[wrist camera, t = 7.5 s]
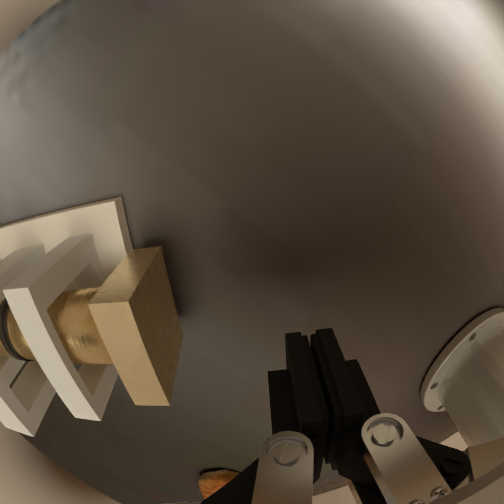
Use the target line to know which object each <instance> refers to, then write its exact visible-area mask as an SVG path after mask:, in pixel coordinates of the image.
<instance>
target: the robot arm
mask: <svg viewBox="0 0 504 504" xmlns="http://www.w3.org/2000/svg"><path fill="white" fill-rule="evenodd" d="M285 344H286V366H287V369H286V370H277V371H268V383H269V395H270V408H271V420H272V433H273V435H272V436H270V437H269V438H267V439H266V440H265V442H264V443H263V444H262V447H261V450H260V456H259V458H258V459H257V460H255V461H254V462H253V463H252V464H251V465H249V466H248V467H247V468H246V469H245V470H243V471H242V472H241V473H240V474H238V475H237V476H236V477H235V478H233V479H232V480H231V481H229V482H228V483H227V484H225V485H224V486H223V487H221V488H220V489H219V490H217V491H216V492H215V493H213V494H212V495H210V496H209V497H208V498H206V499H205V500H203V501H202V502H199V503H191V504H312V495H313V484H314V483H315V482H316V481H317V480H318V479H319V477H320V472H321V467H322V462H323V457H324V459H325V463H326V464H329V463H331V466H332V470H337V469H338V474H339V475H341V476H343V477H345V478H346V480H347V483H348V486H349V488H350V490H351V492H352V494H353V497H354V499H355V501H356V503H357V504H504V308H494V309H492V310H489V311H487V312H485V313H483V314H482V315H480V316H478V317H477V318H475V319H474V320H473V321H472V322H470V323H469V324H468V325H467V326H466V327H465V328H463V329H462V330H461V331H460V332H459V333H458V334H457V335H456V336H455V337H454V338H453V339H452V340H451V341H450V342H449V344H448V345H447V346H446V347H445V348H444V350H443V351H442V352H441V353H440V355H439V356H438V357H437V359H436V360H435V362H434V363H433V364H432V366H431V368H430V370H429V371H428V373H427V375H426V377H425V379H424V381H423V384H422V388H421V391H420V398H421V401H422V403H423V404H424V406H425V407H426V409H427V410H429V411H431V412H440V411H445V410H446V411H447V413H448V414H449V416H450V418H451V419H452V421H453V422H454V424H455V426H456V427H457V429H458V431H459V432H460V434H461V436H462V437H463V439H464V441H465V442H466V444H467V446H468V448H467V449H466V450H465V451H460V450H458V449H455V448H451V447H448V446H445V445H442V444H438V443H435V442H432V441H429V440H426V439H423V438H420V437H417V436H415V435H414V434H413V432H412V431H411V429H410V428H409V426H408V425H407V423H406V422H405V421H404V420H403V419H402V418H400V417H399V416H397V415H394V414H390V413H382V414H381V413H380V411H379V409H378V406H377V404H376V401H375V399H374V397H373V394H372V392H371V390H370V388H369V385H368V383H367V381H366V378H365V376H364V374H363V372H362V369H361V367H360V365H359V363H358V361H357V360H356V359H354V360H348V361H345V359H344V356H343V354H342V351H341V349H340V347H339V344H338V342H337V339H336V337H335V335H334V332H333V330H332V328H327V329H319V330H316V334H312V335H311V340H310V345H309V341H308V338H307V335H304V336H302V335H301V332H296V333H287V334H285ZM170 504H189V503H188V502H182V503H170Z"/></svg>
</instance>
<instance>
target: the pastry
mask: <svg viewBox="0 0 504 504" xmlns="http://www.w3.org/2000/svg"><path fill="white" fill-rule="evenodd" d="M238 474H240V473H239V472H236V471H235V472H233V471H229V470H226V469H224V470H219V471H215V472H207V473H203V474H202V475H201V477H200V478H199V479H198V483H199V490H200V491H201V492H202V495H203V497H204V498H205V499H206V498H208V497H209V496H210V495H212V494H213V493H215V492H216V491H217V490H219V489H220V488H221V487H223V486H224V485H225V484H227V483H228V482H229V481H231V480H232V479H233V478H235V477H236V476H237V475H238Z"/></svg>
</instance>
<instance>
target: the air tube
mask: <svg viewBox="0 0 504 504" xmlns="http://www.w3.org/2000/svg"><path fill="white" fill-rule="evenodd" d="M47 313H48V315H49V317H50V319H51V322H52V324H53V326H54V328H55V330H56V332H57V334H58V336H59V338H60V340H61V342H62V344H63V346H64V348H65V350H66V352H67V354H68V356H69V358H70V360H71V361H72V363H76V364H98V365H114V366H115V368H116V370H117V372H118V374H119V376H120V377H121V379H122V381H123V383H124V385H125V387H126V389H127V391H128V392H129V394H130V396H131V398H132V400H133V401H134V403H135V405H155V406H170V402H171V397H172V391H173V386H174V380H175V375H176V369H177V364H178V359H179V354H180V349H181V344H182V339H183V332H182V329H181V325H180V322H179V318H178V314H177V310H176V307H175V303H174V299H173V295H172V291H171V287H170V283H169V279H168V275H167V271H166V266H165V262H164V257H163V253H162V248H161V246H157V247H149V248H141V249H134V250H130V251H129V252H128V253H127V255H126V256H125V257H124V258H123V259H122V261H121V262H120V263H119V264H118V266H117V267H116V268H115V269H114V271H113V272H112V273H111V274H110V276H109V277H108V278H107V280H106V281H105V282H104V283H103V285H102V286H101V287H95V288H84V289H73V290H64V291H63V292H62V293H61V294H60V295H59V296H58V297H57V298H56V299H55V301H54V302H53V303H52V304H51V305H50V306H49V307H48V309H47ZM0 356H6V357H13V358H15V359H17V360H22V361H34V360H36V358H35V356H34V354H33V353H32V351H31V349H30V347H29V345H28V344H27V342H26V340H25V338H24V336H23V334H22V332H21V330H20V328H19V326H18V324H17V322H16V320H15V318H14V315H13V313H12V311H11V309H10V307H9V304H8V302H7V300H6V297H5V298H4V299H3V300H2V301H1V302H0Z"/></svg>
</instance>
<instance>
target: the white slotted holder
mask: <svg viewBox="0 0 504 504" xmlns="http://www.w3.org/2000/svg"><path fill="white" fill-rule="evenodd" d="M130 250H133V247H132V243H131V239H130V235H129V230H128V226H127V221H126V216H125V211H124V207H123V201H122V197H118V198H113V199H108V200H103V201H99V202H94V203H89V204H85V205H80V206H76V207H71V208H67V209H63V210H59V211H55V212H51V213H47V214H43V215H39V216H35V217H32V218H28V219H24V220H21V221H17V222H14V223H10V224H7V225H3V226H0V302H1V301H2V300H3V299H4V298H5V297H6V300H7V302H8V304H9V307H10V309H11V311H12V313H13V315H14V318H15V320H16V322H17V324H18V326H19V328H20V330H21V332H22V334H23V336H24V338H25V340H26V342H27V344H28V345H29V347H30V349H31V351H32V353H33V354H34V356H35V358H36V360H34V361H29V362H28V364H27V365H26V367H25V368H24V370H23V371H22V373H21V374H20V376H19V377H18V379H17V381H16V382H15V384H14V385H13V387H12V388H11V389H10V388H9V385H10V384H11V382H12V380H13V379H14V377H15V376H16V374H17V373H18V371H19V370H20V368H21V367H22V365H23V364H24V363H25V361H22V360H17V359H15V358H13V357H6V356H0V421H1V422H2V423H3V424H4V425H5V427H7V428H9V429H12V430H15V431H17V432H20V433H23V434H26V435H29V436H32V437H34V436H35V434H36V431H37V429H38V427H39V425H40V423H41V421H42V419H43V416H44V414H45V412H46V410H47V408H48V406H49V404H50V402H51V400H52V398H53V396H54V394H55V392H57V393H58V395H59V396H60V397H61V399H62V400H63V402H64V403H65V405H66V406H67V407H68V409H69V410H70V411H71V413H72V414H73V415H74V417H75V418H82V419H89V420H96V421H101V420H102V417H103V414H104V411H105V408H106V405H107V403H108V400H109V397H110V394H111V392H112V389H113V386H114V384H115V381H116V378H117V376H118V372H117V370H116V368H115V366H114V365H98V364H82V366H81V368H80V370H79V372H77V370H76V369H75V367H74V365H73V363H72V361H71V360H70V358H69V356H68V354H67V352H66V350H65V348H64V346H63V344H62V342H61V340H60V338H59V336H58V334H57V332H56V330H55V328H54V326H53V324H52V322H51V319H50V317H49V315H48V313H47V309H48V307H49V306H50V305H51V304H52V303H53V302H54V301H55V299H56V298H57V297H58V296H59V295H60V294H61V293H62V292H63V291H64V290H73V289H84V288H95V287H101V286H102V285H103V283H104V282H105V281H106V280H107V278H108V277H109V276H110V274H111V273H112V272H113V271H114V269H115V268H116V267H117V266H118V264H119V263H120V262H121V261H122V259H123V258H124V257H125V256H126V255H127V253H128V252H129V251H130Z"/></svg>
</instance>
